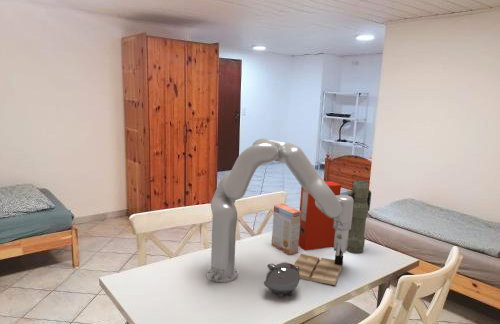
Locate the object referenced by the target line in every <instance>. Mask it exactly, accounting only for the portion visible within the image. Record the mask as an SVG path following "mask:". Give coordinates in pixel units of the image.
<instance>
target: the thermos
mask: <svg viewBox="0 0 500 324" xmlns="http://www.w3.org/2000/svg"><path fill="white" fill-rule="evenodd" d="M347 195H348V196H351V197H352V198H353V200H354V202H353V213H352V223H351V229H350V230H349V236H348V247H347V250H346V252H348V253H350V254H354V255H355V254H356V255H357V254H358V255H360V254H363V253H364V248H365V242H366V237H365V230H366V222H367V218H368V212H369V211H370V208H371V201H372V200H371V199H372V191H371V190H370V187H369V182H368V181H366V180H364V179H357V180H354V181H353V184H352V187H351V190H349V192H348V193H347Z"/></svg>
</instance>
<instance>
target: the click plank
mask: <svg viewBox="0 0 500 324" xmlns="http://www.w3.org/2000/svg"><path fill="white" fill-rule="evenodd" d="M319 260H320V262H319V264H318V266H317V268H316V270H315V272H314V274H313V276H312V279H311V282H314V283H319V284H320V283H321V284H326V285H332V286H336V284H337V282H338V279H339V276H340V274H341V271H342V268H343V266H344V263H343V264H342V265H336V264H335V259H333V258H326V257H325V258H324V257H321V259H319Z"/></svg>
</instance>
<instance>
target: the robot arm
mask: <svg viewBox="0 0 500 324" xmlns="http://www.w3.org/2000/svg"><path fill="white" fill-rule="evenodd" d="M272 162H281V163H284V164H285V165H286V167H287V168H288V169H289V171H290V172H291V173H292V175H293V177H294V178H295V179H296V181H297V182H298V184H299V185H300V186H302V187H303V188H304V189H305V190H306V191H307V192H308V193H309V194H310V195H311V196H312V197H313V198H314V199H315V205H316V207H317V208H318V209H319V210H320V211H321V212H322V213H324V214H325V215H326V216H327V217H329V218H334V220H333V227H334V228H335V237H334V247H333V251H334V252H335V255H334V260H335V264H336V265H342V264H343V265H344V254H345V253H346V252H347V251H346V250H347V247H348V236H349V230H350V229H351V223H352V213H353V202H354V200H353V198H352V197H351V196H348V194H340V195H338V196H337V195H334V193H333V192H332V190H331V189H330V188H329V187H328V185H327V184H326V183H325V182H326V181H325V180H324V178H323V177H322V176H321V175H320V174H319V172H318V171H317V170H316V168H315V167H314V165H313V164H312V163H311V161H310V160H309V158H308V156H307V155H306V154H305V152H304V151H303V150H302V148H300V147H299V146H297V145H296V144H293V143H291V142H285V141H279V140H274V139H267V138H258V139H256V140H254V142H253V143H252V145H251V146H248V147H247V148H245V149H244V150H243V151H242V152H241V153H240V154H239V155H238V157H237V158H236V160H235V162H234V164H233V166H232V168H231V170H229V171H227V172H226V173H224V174H223V175H222V177H221V179H220V181H219V182H218V185H217V187H216V189H215V191H214V194H213V197H212V198H211V202H210V210H211V215H212V223H211V225H212V227H211V253H210V256H211V259H210V260H211V261H210V268H209V269H208V270H207V271H206V280H208V281H213V282H217V283H228V282H232V281H234V280H235V279H237V278H238V276H239V271H238V270H237V269H236V268H235V263H236V237H237V236H236V235H237V234H236V233H237V224H238V211H237V207H236V205H235V202H236V200H237V201H238V200H240V199H242V198H243V197H244V196H245V194H246V193H247V190H248V187H249V185H250V183H251V180H252V178H253V176H254V174H255V173H256V170H257V169H258V168H259V167H260V166H262V165H266V164H270V163H272Z"/></svg>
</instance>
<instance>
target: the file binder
mask: <svg viewBox="0 0 500 324" xmlns="http://www.w3.org/2000/svg"><path fill="white" fill-rule="evenodd" d="M324 182H325V183H326V184H327V185H328V187H329V188H330V189H331V190H332V192H333V193H334V195H337V196H338V195H341V189H342V187H341V186H342V185H341V184H340V183H337V182H335V181H333V180H332V181H327V180H326V181H324ZM300 186H301V185H300ZM300 189H301V190H300V201H299V211H301V219H300V232H299V245H298V248H300V249H301V250H302V251H304V252H306V251H313V250H318V249H319V250H320V249H327V248H334V237H335V228H334V227H333V220H334V218H329V217H327V216H326V215H325V214H324V213H322V212H321V211H320V210H319V209H318V208H317V207H316V205H315V199H314V198H313V197H312V196H311V195H310V194H309V193H308V192H307V191H306V190H305V189H304V188H303V187H302V186H301V188H300Z"/></svg>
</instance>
